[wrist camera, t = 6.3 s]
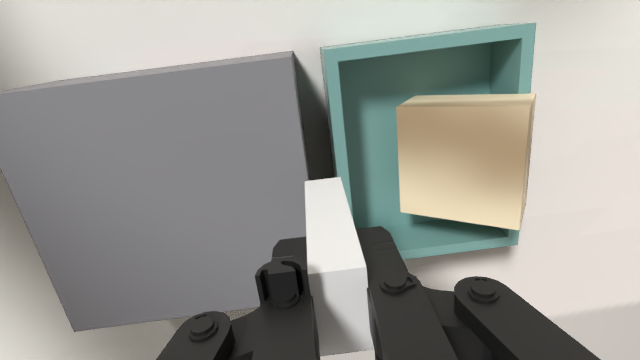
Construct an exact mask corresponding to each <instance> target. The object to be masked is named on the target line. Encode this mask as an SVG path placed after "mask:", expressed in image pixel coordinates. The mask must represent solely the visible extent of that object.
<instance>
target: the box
mask: <svg viewBox="0 0 640 360" xmlns="http://www.w3.org/2000/svg"><path fill="white" fill-rule="evenodd" d="M535 30H536V23H522V24H502V25H493V26H485V27H477V28H469V29H461V30H453V31H445V32H438V33H430V34H422V35H414V36H406V37H398V38H390V39H383V40H375V41H367V42H359V43H351V44H343V45H335V46H328V47H320V54H321V63H322V72H323V81H324V90H325V99H326V108H327V116H328V125H329V134H330V143H331V152H332V161H333V170H334V178H335V177H341V181H342V184H343V188H344V191H345V195H346V198H347V201H348V205H349V208H350V212H351V215H352V219H353V222H354V226H355V229H361V228H369V227H377V226H382V227H383V228H384V229H386V230H387V231H389V232H390V233H391V236H392V238H393V240H394V243H395V244H396V246H397V250H398V251H399V253H400V255H401V257H402V260H405V259H413V258H420V257H428V256H436V255H443V254H451V253H458V252H466V251H473V250H481V249H489V248H496V247H504V246H511V245H518V237H519V230H513V229H507V228H500V227H494V226H487V225H481V224H474V223H468V222H461V221H455V220H448V219H442V218H435V217H429V216H422V215H416V214H409V213H403V212H400V188H399V163H398V139H397V114H396V107H397V106H398V105H400V104H402V103H404V102H405V101H407V100H409V99H410V98H412V97H414V96H416V95H475V94H530V90H531V78H532V66H533V54H534V42H535Z"/></svg>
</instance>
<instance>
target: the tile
mask: <svg viewBox="0 0 640 360" xmlns="http://www.w3.org/2000/svg"><path fill="white" fill-rule="evenodd" d="M535 99H536V94H475V95H416V96H414V97H412V98H410V99H409V100H407V101H405V102H404V103H402V104H400V105H398V106H397V107H396V114H397V139H398V163H399V188H400V212H403V213H409V214H416V215H422V216H429V217H435V218H442V219H448V220H455V221H461V222H468V223H474V224H481V225H487V226H494V227H500V228H507V229H513V230H519V229H520V225H521V221H522V217H523V214H524V210H525V206H526V197H527V186H528V175H529V164H530V153H531V142H532V131H533V120H534V110H535Z"/></svg>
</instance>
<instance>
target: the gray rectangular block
mask: <svg viewBox="0 0 640 360" xmlns="http://www.w3.org/2000/svg"><path fill="white" fill-rule="evenodd" d="M0 168H1V171H2V173H3V175H4V177H5V179H6V182H7V184H8V186H9V188H10V190H11V193H12V195H13V197H14V199H15V202H16V204H17V206H18V208H19V210H20V213H21V215H22V217H23V219H24V222H25V224H26V226H27V228H28V230H29V233H30V235H31V237H32V239H33V242H34V244H35V246H36V248H37V250H38V253H39V255H40V257H41V259H42V262H43V264H44V266H45V268H46V270H47V273H48V275H49V277H50V279H51V282H52V284H53V286H54V288H55V290H56V293H57V295H58V297H59V299H60V302H61V304H62V306H63V308H64V310H65V313H66V315H67V317H68V319H69V322H70V324H71V326H72V328H73V330H74V332H76V331H83V330H91V329H98V328H106V327H113V326H121V325H129V324H136V323H144V322H151V321H159V320H166V319H174V318H181V317H189V316H195V315H198V314H201V313H203V312H209V311H218V312H227V311H234V310H242V309H249V308H257V307H260V300H259V295H258V290H257V285H256V281H255V274H256V272H257V270H258V269H259V268H261V267H262V266H263V265H264V264H266V263H268V262H270V261H271V259H272V251H273V247H274V246H275V245H276V244H277V243H278V241H279V240H281V239H289V238H297V237H305V236H306V210H305V181H311V180H310V173H309V166H308V159H307V151H306V144H305V137H304V129H303V122H302V115H301V107H300V100H299V93H298V85H297V78H296V71H295V63H294V56H293V51H288V52H280V53H273V54H265V55H257V56H249V57H241V58H233V59H225V60H218V61H210V62H202V63H194V64H186V65H178V66H170V67H163V68H155V69H147V70H139V71H131V72H123V73H115V74H108V75H100V76H92V77H84V78H76V79H68V80H61V81H54V82H49V83H44V84H38V85H33V86H28V87H23V88H17V89H12V90H7V91H2V92H0Z"/></svg>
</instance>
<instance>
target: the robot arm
mask: <svg viewBox="0 0 640 360" xmlns="http://www.w3.org/2000/svg"><path fill="white" fill-rule="evenodd" d="M305 210H306V236H305V237H297V238H289V239H281V240H279V241H278V243H277V244H276V245H275V246H274V247H273V251H272V259H271V261H270V262H268V263H266V264H264V265H263V266H262V267H261V268H259V269H258V270H257V272H256V274H255V281H256V285H257V290H258V295H259V300H260V307H259V308H258V309H256V310H255V311H253V312H252V313H250V314H247V315H245V316H243V317H240V318H237V319H235V320H232V321H230V318H229V316H227V315H226V314H225V313H223V312H218V311H209V312H203V313H201V314H198V315H195V316H193V317H192V318H190V319H188V320H187V321H185V322H184V323H183V324H182V326H181V327H180V328H179V329H178V330H177V331H176V333H175V334H174V336H173V337H172V338H171V340H170V341H169V343H168V344H167V345H166V347H165V348H164V350H163V351H162V352H161V354H160V355H159V357H158V358H157V359H156V360H320V356H326V355H334V354H342V353H350V352H358V351H366V350H373V345H374V349H375V360H600V359H599V358H598V357H596V356H595V355H594V354H593V353H591V352H590V351H589V350H587V349H586V348H585V347H584V346H583V345H581V344H580V343H579V342H577V341H576V340H575V339H574V338H572V337H571V336H570V335H568V334H567V333H566V332H565V331H563V330H562V329H561V328H559V327H558V326H557V325H556V324H554V323H553V322H552V321H551V320H549V319H548V318H547V317H545V316H544V315H543V314H542V313H540V312H539V311H538V310H536V309H535V308H534V307H533V306H531V305H530V304H529V303H528V302H526V301H525V300H524V299H522V298H521V297H520V296H519V295H517V294H516V293H515V292H513V291H512V290H511V289H510V288H508V287H507V286H506V285H504V284H502V283H501V282H499V281H497V280H494V279H490V278H487V277H477V276H475V277H468V278H464V279H462V280H460V281H458V283H457V284H456V285H455V287H454V292H452V291H441V290H434V289H430V288H427V287H423V286H422V285H421V283H420V281H419V280H418V279H417V278H416V277H415V276H413V275H412V274H410V273H408V270H407V268H406V266H405V264H404V262H403V260H402V257H401V255H400V253H399V251H398V250H397V246H396V244H395V243H394V240H393V238H392V236H391V233H390V232H389V231H387V230H386V229H384V228H383V227H382V226H377V227H369V228H361V229H355V226H354V222H353V219H352V215H351V212H350V208H349V205H348V201H347V198H346V195H345V191H344V188H343V184H342V181H341V177H335V178H327V179H319V180H311V181H305Z"/></svg>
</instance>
